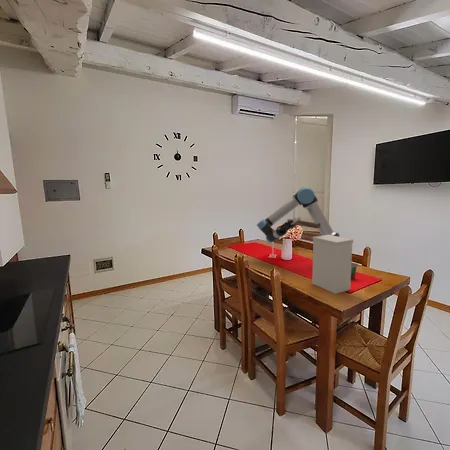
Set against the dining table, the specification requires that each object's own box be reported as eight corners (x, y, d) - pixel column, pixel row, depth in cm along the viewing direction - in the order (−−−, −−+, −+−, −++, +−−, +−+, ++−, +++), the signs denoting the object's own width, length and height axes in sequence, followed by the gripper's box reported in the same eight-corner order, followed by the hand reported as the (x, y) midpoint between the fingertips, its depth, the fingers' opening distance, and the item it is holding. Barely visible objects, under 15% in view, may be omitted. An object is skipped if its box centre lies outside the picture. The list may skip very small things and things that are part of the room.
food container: (334, 275, 180) (334, 261, 178) (339, 273, 183) (339, 259, 182) (351, 280, 170) (352, 265, 169) (356, 278, 174) (357, 263, 172)
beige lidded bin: (326, 280, 172) (328, 234, 168) (350, 289, 156) (353, 239, 152) (311, 283, 167) (312, 236, 162) (334, 294, 151) (336, 242, 146)
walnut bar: (290, 223, 191) (290, 219, 191) (320, 227, 166) (320, 223, 166) (287, 223, 190) (287, 219, 189) (316, 228, 165) (316, 223, 164)
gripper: (289, 235, 203) (309, 222, 183) (272, 237, 196) (291, 224, 176) (286, 226, 206) (305, 213, 186) (269, 228, 199) (287, 214, 179)
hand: (298, 218), depth 181 cm, fingers closed on walnut bar, 3 cm apart
